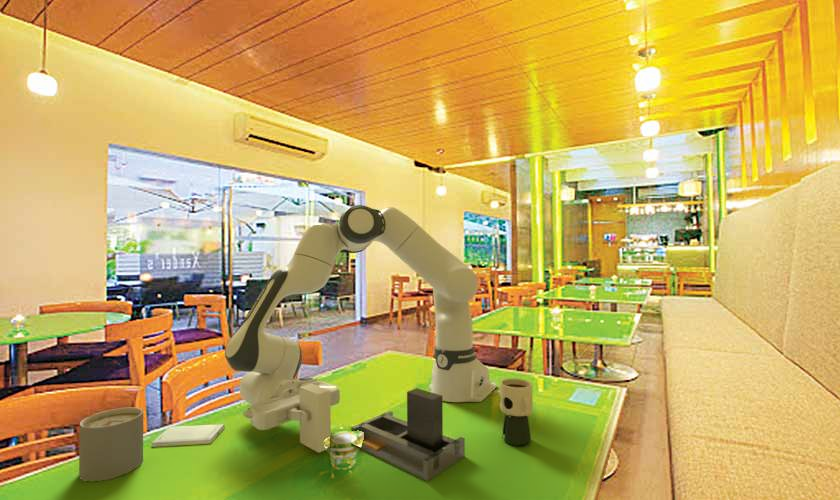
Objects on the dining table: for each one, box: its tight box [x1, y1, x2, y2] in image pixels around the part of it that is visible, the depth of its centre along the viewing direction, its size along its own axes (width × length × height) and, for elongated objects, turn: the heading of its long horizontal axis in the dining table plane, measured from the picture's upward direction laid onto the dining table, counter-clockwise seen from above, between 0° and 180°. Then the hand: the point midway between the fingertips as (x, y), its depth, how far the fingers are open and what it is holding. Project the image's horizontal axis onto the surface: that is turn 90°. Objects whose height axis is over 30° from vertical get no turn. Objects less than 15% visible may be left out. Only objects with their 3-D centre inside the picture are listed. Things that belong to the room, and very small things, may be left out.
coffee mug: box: [78, 406, 144, 482], centre depth 79 cm, size 13×10×10 cm
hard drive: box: [150, 423, 226, 448], centre depth 91 cm, size 2×8×12 cm
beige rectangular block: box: [299, 384, 332, 453], centre depth 84 cm, size 3×7×12 cm, turn 49°
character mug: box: [499, 377, 534, 446], centre depth 88 cm, size 11×7×13 cm, turn 14°
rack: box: [350, 387, 466, 482], centre depth 84 cm, size 12×22×13 cm, turn 49°
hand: (317, 413), depth 84 cm, fingers closed on beige rectangular block, 3 cm apart
